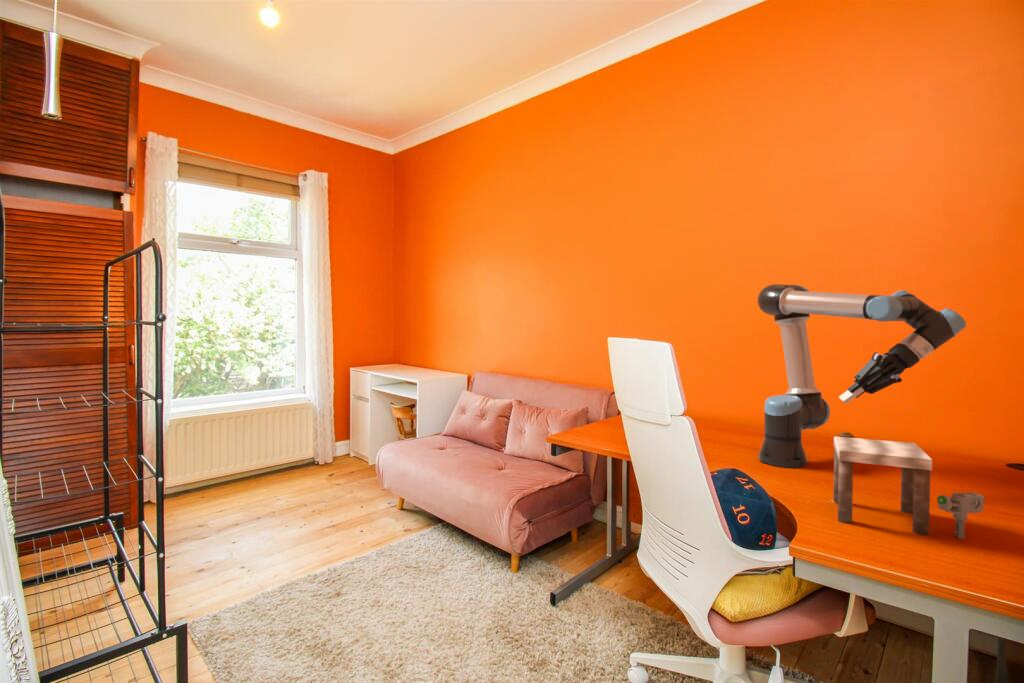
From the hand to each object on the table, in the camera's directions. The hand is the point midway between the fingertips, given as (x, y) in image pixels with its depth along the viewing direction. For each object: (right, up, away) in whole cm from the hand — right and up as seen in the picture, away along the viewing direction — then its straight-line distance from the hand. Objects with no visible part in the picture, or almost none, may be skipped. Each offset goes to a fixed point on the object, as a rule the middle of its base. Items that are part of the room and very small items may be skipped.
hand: (842, 400), depth 159 cm
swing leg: (-11, -26, -22) cm, 35 cm away
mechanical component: (-1, -27, -43) cm, 51 cm away
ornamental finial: (+23, -24, +33) cm, 47 cm away
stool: (-11, -26, -30) cm, 41 cm away
